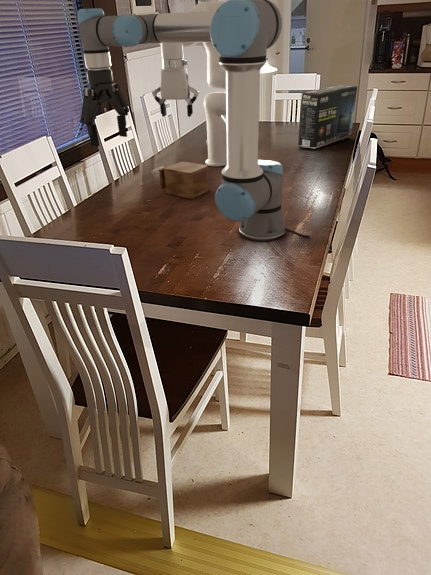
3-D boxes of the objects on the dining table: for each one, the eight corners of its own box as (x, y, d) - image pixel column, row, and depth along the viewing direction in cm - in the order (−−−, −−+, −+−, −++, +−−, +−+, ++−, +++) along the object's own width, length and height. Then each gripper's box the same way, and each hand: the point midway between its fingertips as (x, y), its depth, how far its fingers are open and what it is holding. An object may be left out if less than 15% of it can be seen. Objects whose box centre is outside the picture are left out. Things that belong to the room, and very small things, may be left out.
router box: (314, 151, 231) (318, 94, 217) (296, 148, 237) (299, 92, 224) (352, 138, 251) (358, 85, 238) (335, 135, 258) (340, 83, 245)
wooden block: (166, 193, 186) (163, 168, 180) (183, 185, 193) (181, 161, 188) (192, 199, 179) (190, 173, 173) (209, 190, 186) (207, 165, 181)
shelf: (150, 186, 190) (147, 167, 186) (165, 180, 197) (163, 161, 193) (183, 194, 181) (182, 173, 177) (199, 186, 188) (197, 167, 184)
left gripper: (199, 62, 161) (202, 114, 170) (152, 63, 164) (157, 114, 173) (194, 65, 155) (197, 118, 163) (146, 66, 158) (151, 117, 167)
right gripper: (116, 64, 148) (125, 131, 159) (58, 73, 130) (73, 149, 141) (134, 64, 145) (142, 133, 156) (78, 74, 127) (91, 151, 137)
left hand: (176, 116), depth 168 cm, fingers open, 9 cm apart
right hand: (109, 141), depth 148 cm, fingers open, 13 cm apart
